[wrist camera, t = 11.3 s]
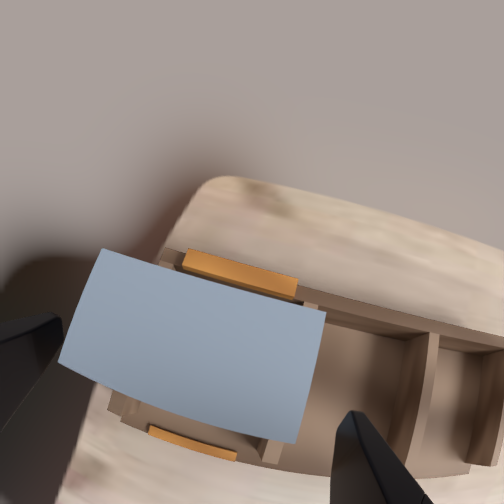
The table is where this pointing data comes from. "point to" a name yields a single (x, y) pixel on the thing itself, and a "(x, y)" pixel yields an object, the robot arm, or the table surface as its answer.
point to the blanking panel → (195, 347)
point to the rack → (358, 384)
